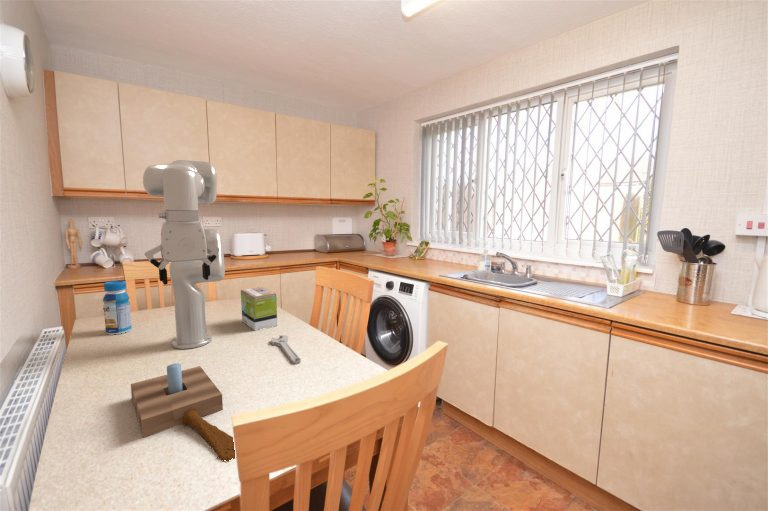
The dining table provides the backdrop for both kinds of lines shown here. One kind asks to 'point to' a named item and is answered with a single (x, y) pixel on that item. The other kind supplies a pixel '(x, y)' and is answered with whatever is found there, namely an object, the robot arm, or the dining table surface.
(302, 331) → the dining table surface
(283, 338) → the adjustable wrench
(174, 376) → the peg
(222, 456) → the primitive tool
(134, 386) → the hole block
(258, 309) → the tea box
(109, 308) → the blue-capped supplement jar
